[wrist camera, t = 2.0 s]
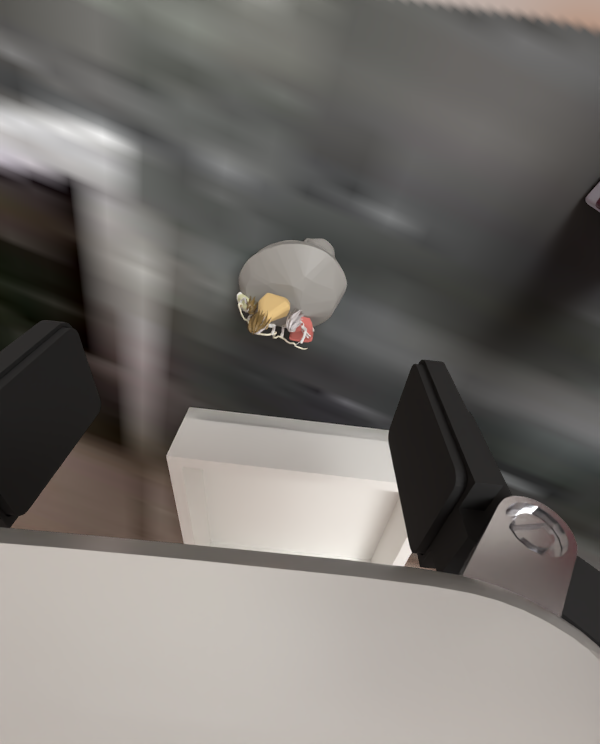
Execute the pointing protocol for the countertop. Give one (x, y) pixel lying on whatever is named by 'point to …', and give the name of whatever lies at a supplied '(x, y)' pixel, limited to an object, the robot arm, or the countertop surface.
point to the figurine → (291, 288)
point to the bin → (287, 487)
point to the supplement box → (594, 198)
